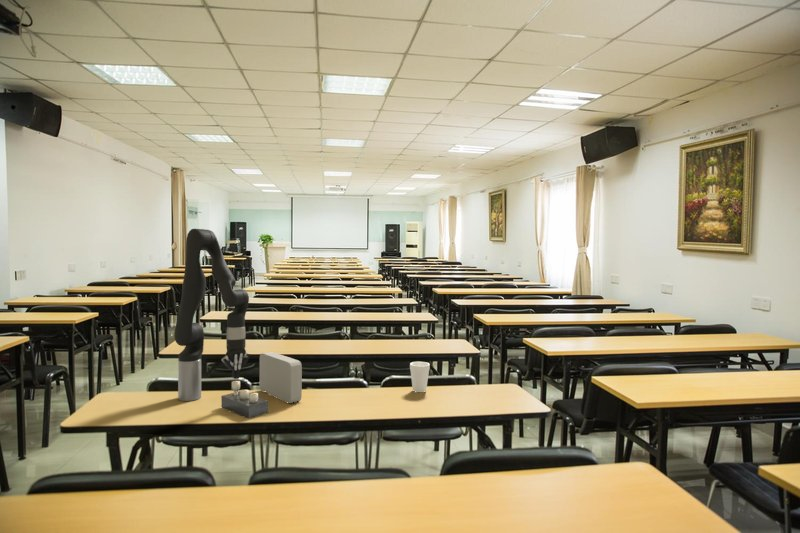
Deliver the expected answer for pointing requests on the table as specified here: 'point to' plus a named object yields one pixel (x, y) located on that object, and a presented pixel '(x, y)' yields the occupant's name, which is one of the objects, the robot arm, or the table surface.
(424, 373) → the foam cup
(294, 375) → the rounded white slab
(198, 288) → the robot arm
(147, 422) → the table surface
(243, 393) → the knob
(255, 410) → the mount
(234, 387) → the knob
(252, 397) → the knob
